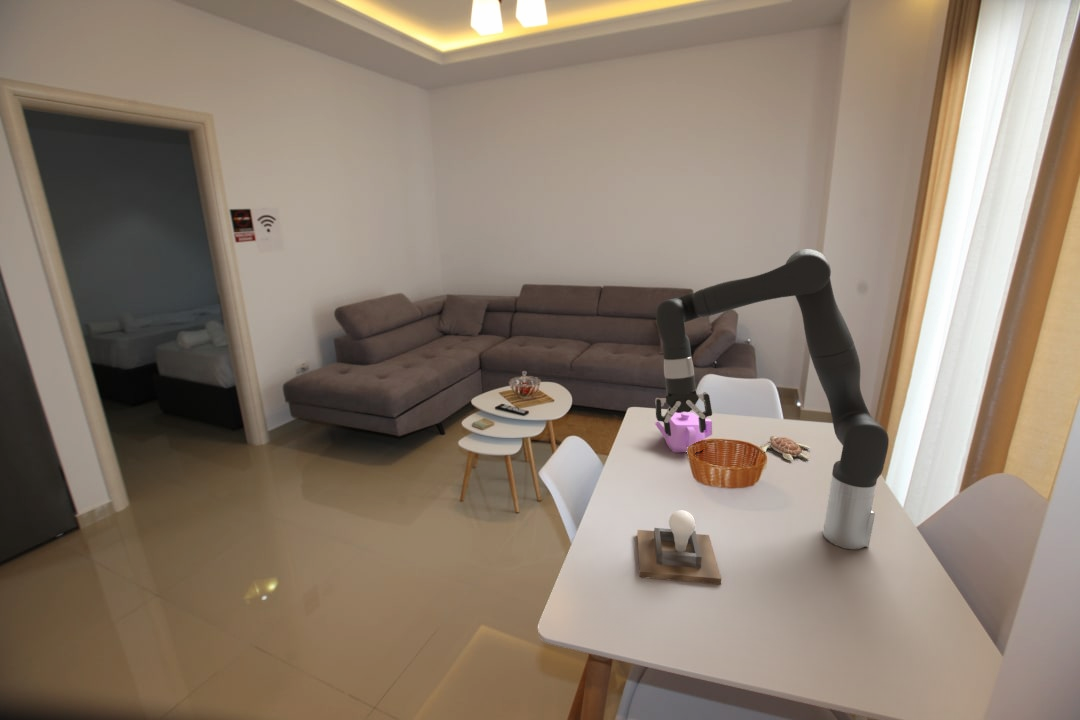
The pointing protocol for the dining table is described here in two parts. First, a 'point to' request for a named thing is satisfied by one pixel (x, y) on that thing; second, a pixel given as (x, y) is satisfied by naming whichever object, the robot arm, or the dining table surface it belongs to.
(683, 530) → the lightbulb
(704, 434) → the teakettle
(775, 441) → the decorative turtle
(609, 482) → the dining table surface
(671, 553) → the bulb holder
